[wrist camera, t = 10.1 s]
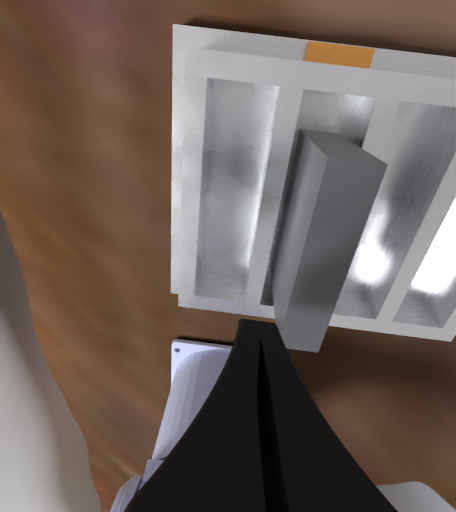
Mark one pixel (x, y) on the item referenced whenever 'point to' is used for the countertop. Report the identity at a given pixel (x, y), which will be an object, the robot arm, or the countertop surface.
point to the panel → (320, 232)
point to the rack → (280, 164)
